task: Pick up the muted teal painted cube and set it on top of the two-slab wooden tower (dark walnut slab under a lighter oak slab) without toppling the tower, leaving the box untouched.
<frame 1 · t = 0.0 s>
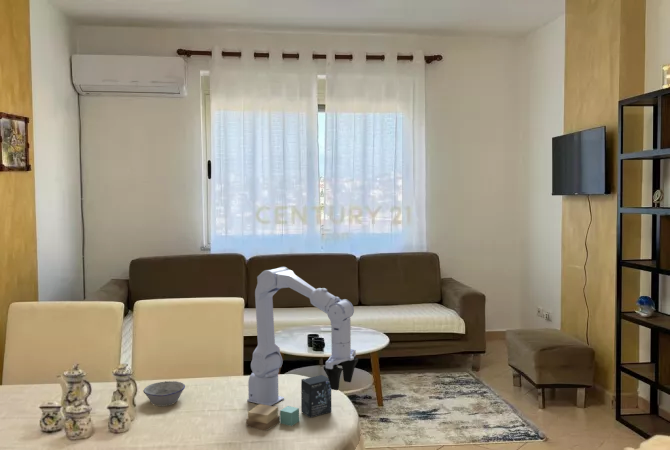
hand: (341, 385, 173), 10 cm above the table, fingers open, 7 cm apart
slab bottom: (263, 425, 170), on the table, touching slab top
box: (316, 413, 178), on the table
slab top: (263, 417, 170), point 2 cm above the table, touching slab bottom
bowl: (164, 402, 188), on the table
teal cube: (289, 422, 171), on the table
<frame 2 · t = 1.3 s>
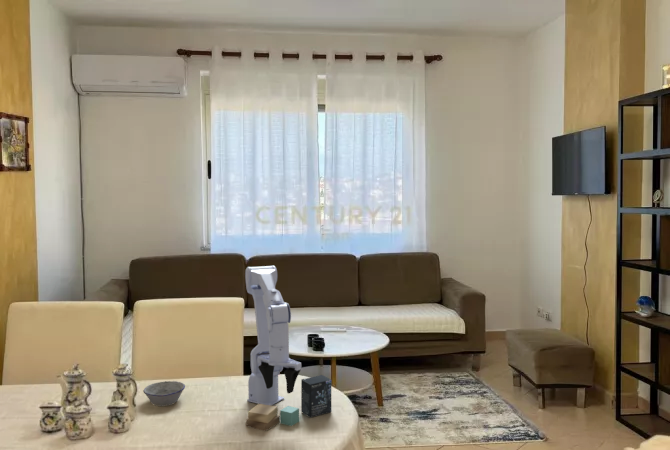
hand: (279, 389, 171), 10 cm above the table, fingers open, 7 cm apart
slab bottom: (263, 425, 170), on the table
slab top: (263, 417, 170), point 2 cm above the table
everything else where it was.
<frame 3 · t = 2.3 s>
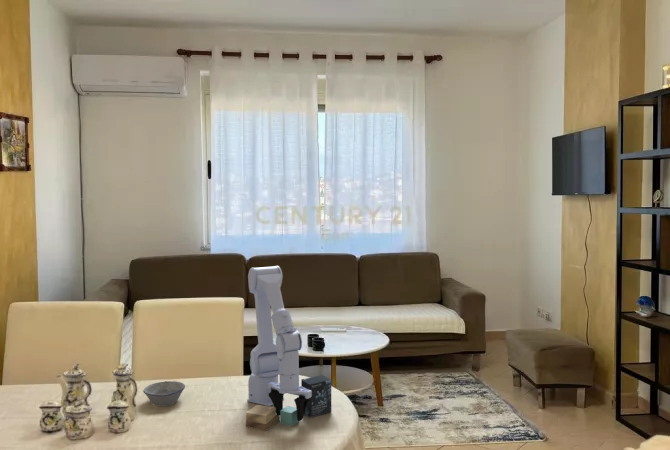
hand: (289, 417, 171), 1 cm above the table, fingers open, 7 cm apart
slab bottom: (263, 426, 170), on the table, touching slab top
slab top: (261, 418, 170), point 2 cm above the table, touching slab bottom
everything else where it was.
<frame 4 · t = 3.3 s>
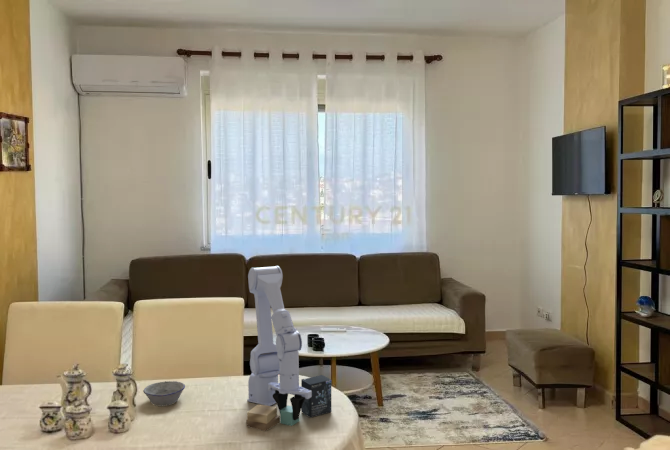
hand: (289, 417, 171), 1 cm above the table, fingers closed on teal cube, 4 cm apart
slab bottom: (263, 426, 170), on the table
slab top: (262, 417, 170), point 2 cm above the table
teal cube: (289, 422, 171), on the table, touching gripper
everything else where it was.
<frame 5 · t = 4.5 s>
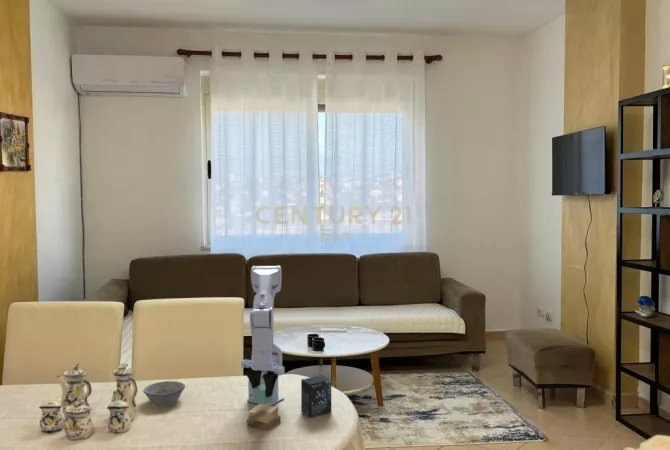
hand: (262, 394, 169), 9 cm above the table, fingers closed on teal cube, 4 cm apart
slab bottom: (263, 425, 170), on the table, touching slab top
slab top: (263, 417, 170), point 2 cm above the table, touching slab bottom
teal cube: (263, 400, 169), point 7 cm above the table, touching gripper
everything else where it was.
when the fingers open (7 cm above the table, at t = 5.2 s): teal cube drops 1 cm, resting on slab top.
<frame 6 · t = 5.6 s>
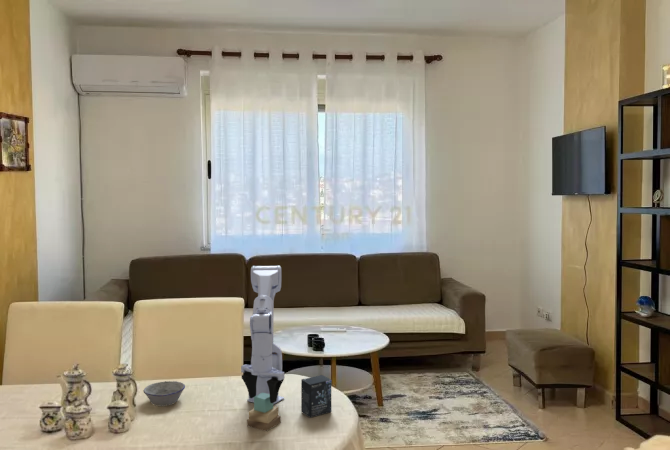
hand: (262, 399, 169), 7 cm above the table, fingers open, 7 cm apart
slab bottom: (264, 425, 170), on the table
slab top: (263, 417, 170), point 2 cm above the table, touching teal cube
teal cube: (263, 409, 170), point 4 cm above the table, touching slab top
everything else where it was.
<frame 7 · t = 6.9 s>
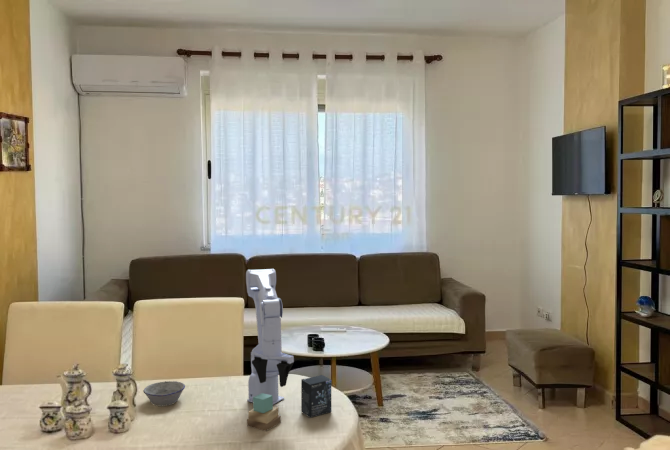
hand: (272, 384, 174), 10 cm above the table, fingers open, 7 cm apart
slab bottom: (264, 425, 170), on the table, touching slab top
slab top: (263, 417, 170), point 2 cm above the table, touching slab bottom
teal cube: (263, 409, 169), point 4 cm above the table
everything else where it was.
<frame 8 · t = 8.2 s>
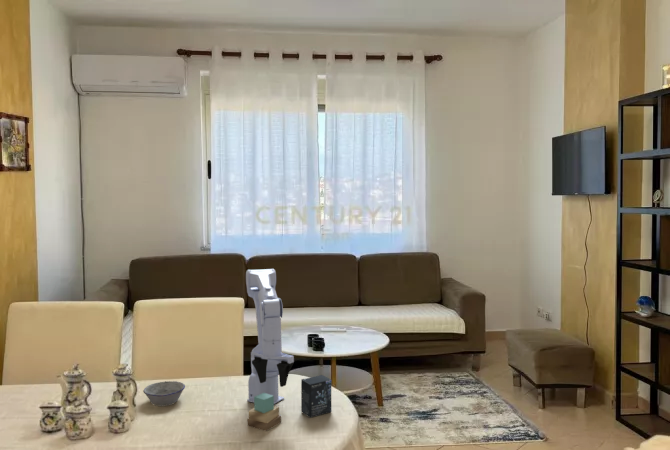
hand: (272, 384, 174), 10 cm above the table, fingers open, 7 cm apart
slab top: (263, 417, 170), point 2 cm above the table, touching slab bottom, teal cube
teal cube: (264, 409, 169), point 5 cm above the table, touching slab top
everything else where it was.
at the end: teal cube 0.2 cm off-centre on the slab bottom, point 5.0 cm above the slab bottom's base; slab top 0.2 cm off-centre on the slab bottom, point 2.5 cm above the slab bottom's base; teal cube tilted 1° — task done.
